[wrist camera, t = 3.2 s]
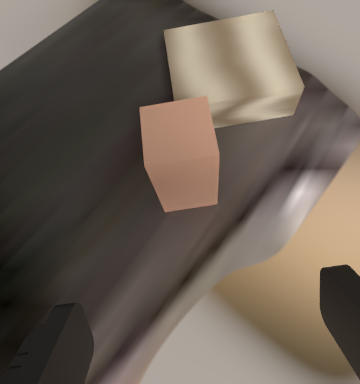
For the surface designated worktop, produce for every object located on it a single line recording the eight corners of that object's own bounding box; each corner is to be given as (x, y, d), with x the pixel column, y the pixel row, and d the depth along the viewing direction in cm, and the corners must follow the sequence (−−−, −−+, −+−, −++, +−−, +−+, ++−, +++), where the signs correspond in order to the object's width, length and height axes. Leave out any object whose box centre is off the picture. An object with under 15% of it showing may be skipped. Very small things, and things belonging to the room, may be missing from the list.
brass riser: (179, 134, 30) (175, 108, 27) (168, 60, 35) (163, 30, 31) (293, 115, 30) (304, 87, 26) (267, 42, 34) (273, 10, 31)
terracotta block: (165, 212, 27) (144, 166, 19) (159, 166, 29) (139, 107, 21) (217, 204, 27) (219, 154, 19) (208, 158, 29) (207, 95, 21)
